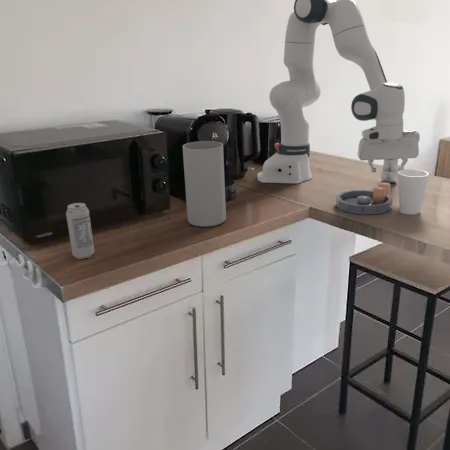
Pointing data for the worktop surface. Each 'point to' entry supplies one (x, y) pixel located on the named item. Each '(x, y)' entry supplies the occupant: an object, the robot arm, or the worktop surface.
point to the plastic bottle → (390, 170)
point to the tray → (352, 204)
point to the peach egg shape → (379, 195)
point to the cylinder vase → (204, 183)
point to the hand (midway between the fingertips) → (386, 171)
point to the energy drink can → (80, 230)
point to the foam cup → (411, 190)
